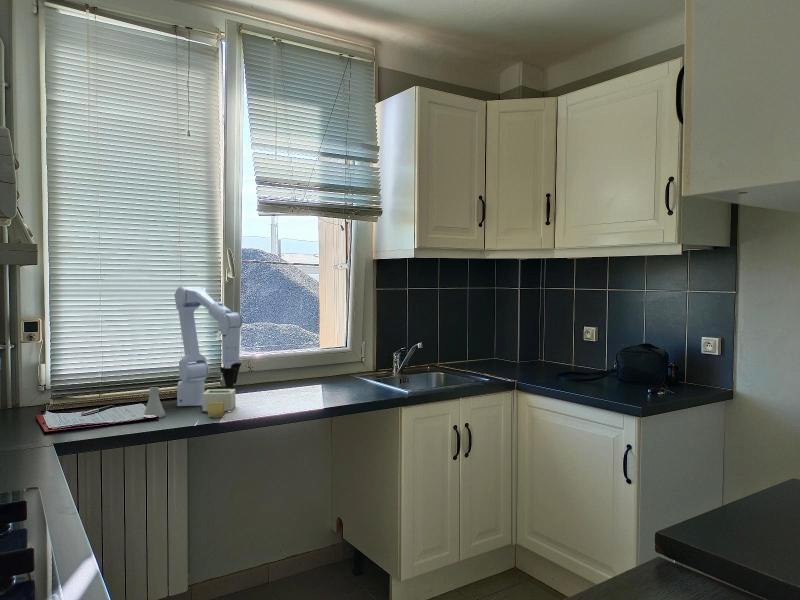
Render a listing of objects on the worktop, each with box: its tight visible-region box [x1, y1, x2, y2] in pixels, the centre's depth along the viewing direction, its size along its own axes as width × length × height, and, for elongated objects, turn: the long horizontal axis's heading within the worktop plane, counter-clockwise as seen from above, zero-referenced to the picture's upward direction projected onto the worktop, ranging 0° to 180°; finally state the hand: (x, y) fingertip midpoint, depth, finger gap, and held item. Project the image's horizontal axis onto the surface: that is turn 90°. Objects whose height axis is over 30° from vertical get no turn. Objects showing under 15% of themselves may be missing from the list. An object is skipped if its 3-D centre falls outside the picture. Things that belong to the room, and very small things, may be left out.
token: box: [207, 402, 225, 418], centre depth 205 cm, size 5×2×5 cm, turn 96°
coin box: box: [201, 388, 236, 413], centre depth 216 cm, size 10×8×6 cm
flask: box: [143, 386, 166, 419], centre depth 205 cm, size 7×7×10 cm
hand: (231, 385), depth 211 cm, fingers open, 7 cm apart
